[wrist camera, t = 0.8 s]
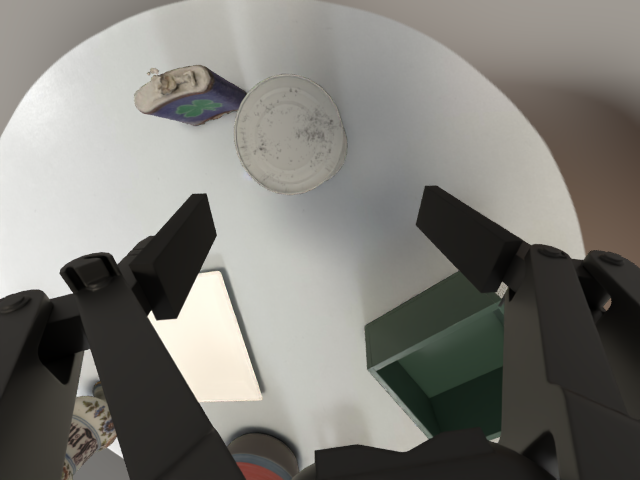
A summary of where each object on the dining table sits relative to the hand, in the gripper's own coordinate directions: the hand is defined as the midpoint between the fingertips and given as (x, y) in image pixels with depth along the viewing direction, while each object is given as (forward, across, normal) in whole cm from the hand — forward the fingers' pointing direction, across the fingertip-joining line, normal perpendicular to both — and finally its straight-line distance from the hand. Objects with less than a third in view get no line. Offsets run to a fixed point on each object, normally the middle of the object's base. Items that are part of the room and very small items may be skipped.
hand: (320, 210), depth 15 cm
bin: (+8, +21, -27) cm, 35 cm away
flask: (+25, -11, +4) cm, 27 cm away
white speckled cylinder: (+20, +1, 0) cm, 21 cm away
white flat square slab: (+18, -23, -33) cm, 45 cm away
